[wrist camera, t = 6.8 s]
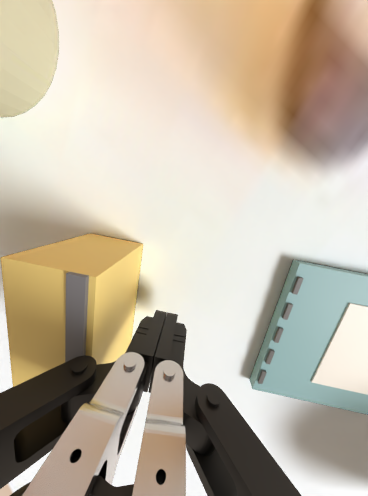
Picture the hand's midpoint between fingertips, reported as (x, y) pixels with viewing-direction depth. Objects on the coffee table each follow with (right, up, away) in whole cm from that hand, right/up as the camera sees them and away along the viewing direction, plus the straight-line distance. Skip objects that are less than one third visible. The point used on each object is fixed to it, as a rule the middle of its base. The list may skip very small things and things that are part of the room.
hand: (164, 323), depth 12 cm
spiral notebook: (+13, -2, +1) cm, 14 cm away
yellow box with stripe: (-4, +2, +2) cm, 5 cm away
